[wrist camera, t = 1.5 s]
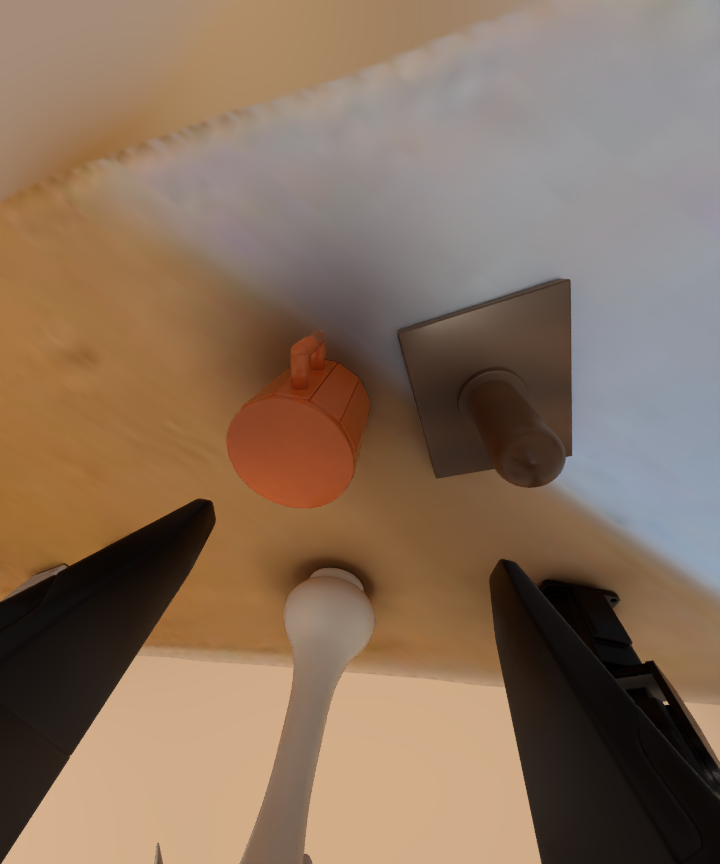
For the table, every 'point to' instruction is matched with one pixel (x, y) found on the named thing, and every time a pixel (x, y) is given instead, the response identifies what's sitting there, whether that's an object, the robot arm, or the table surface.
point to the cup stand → (496, 385)
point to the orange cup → (301, 430)
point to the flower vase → (307, 706)
